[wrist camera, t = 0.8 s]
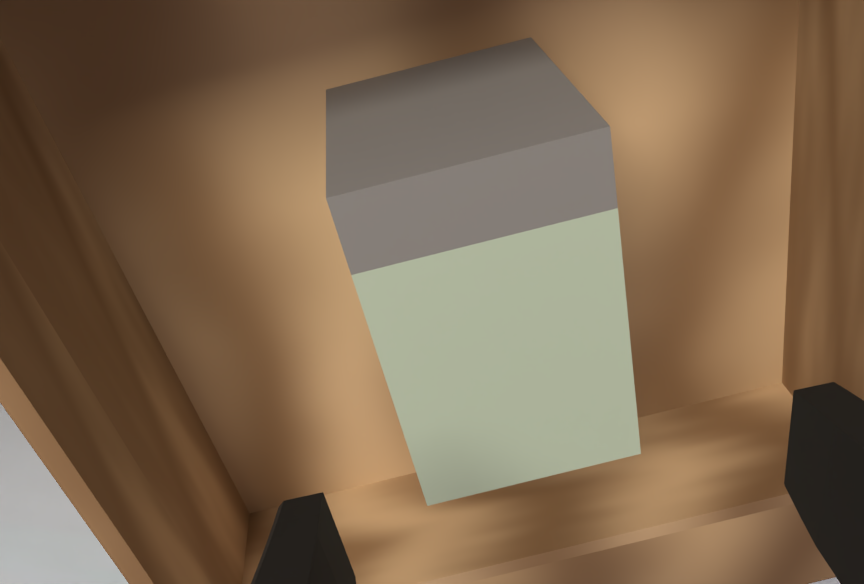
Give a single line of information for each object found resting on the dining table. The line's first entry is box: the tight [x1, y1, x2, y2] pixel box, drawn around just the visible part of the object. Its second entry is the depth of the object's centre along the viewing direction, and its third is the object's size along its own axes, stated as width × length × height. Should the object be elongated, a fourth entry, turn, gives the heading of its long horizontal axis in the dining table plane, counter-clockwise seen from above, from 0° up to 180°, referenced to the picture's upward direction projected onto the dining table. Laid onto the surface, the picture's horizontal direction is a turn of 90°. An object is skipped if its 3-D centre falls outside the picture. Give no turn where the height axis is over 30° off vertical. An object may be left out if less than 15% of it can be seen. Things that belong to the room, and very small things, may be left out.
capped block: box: [326, 37, 641, 506], centre depth 18 cm, size 5×8×6 cm, turn 12°
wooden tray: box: [0, 0, 864, 584], centre depth 19 cm, size 23×23×6 cm
